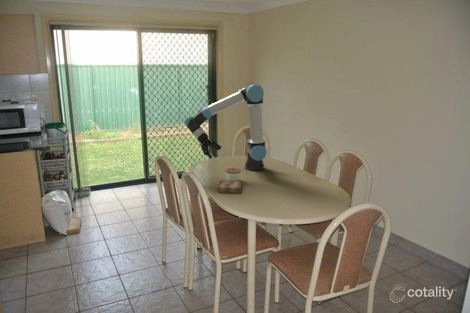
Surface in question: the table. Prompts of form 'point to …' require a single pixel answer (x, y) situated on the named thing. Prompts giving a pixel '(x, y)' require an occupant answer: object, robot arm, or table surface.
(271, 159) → the table surface
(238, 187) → the base
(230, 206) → the table surface
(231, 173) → the lidded jar
